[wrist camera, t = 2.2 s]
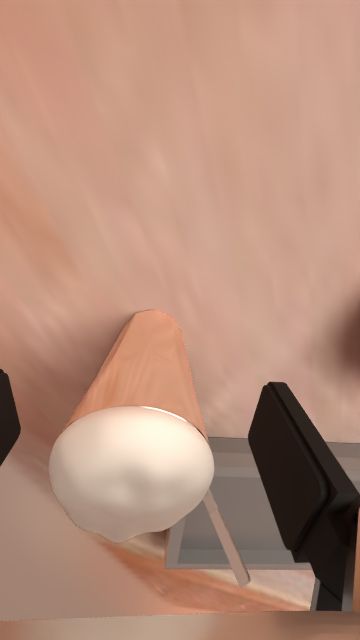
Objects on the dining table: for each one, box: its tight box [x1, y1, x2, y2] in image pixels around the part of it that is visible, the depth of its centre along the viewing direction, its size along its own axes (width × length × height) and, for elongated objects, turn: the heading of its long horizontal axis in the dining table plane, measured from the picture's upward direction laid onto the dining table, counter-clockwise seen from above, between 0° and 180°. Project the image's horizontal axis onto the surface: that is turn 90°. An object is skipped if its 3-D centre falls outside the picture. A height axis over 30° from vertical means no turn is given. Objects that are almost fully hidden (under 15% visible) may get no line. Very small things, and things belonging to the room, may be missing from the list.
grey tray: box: [165, 437, 360, 570], centre depth 20 cm, size 18×14×2 cm
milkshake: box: [49, 309, 251, 588], centre depth 10 cm, size 5×5×10 cm
